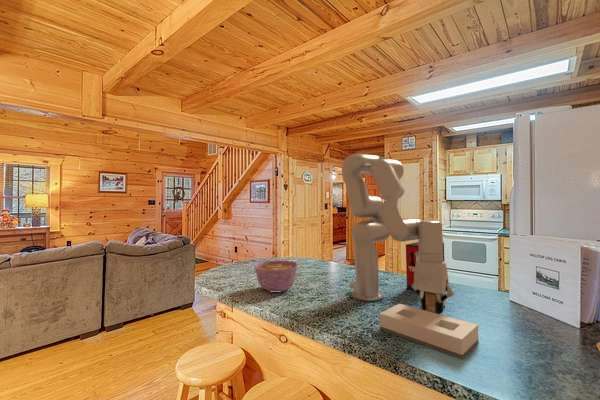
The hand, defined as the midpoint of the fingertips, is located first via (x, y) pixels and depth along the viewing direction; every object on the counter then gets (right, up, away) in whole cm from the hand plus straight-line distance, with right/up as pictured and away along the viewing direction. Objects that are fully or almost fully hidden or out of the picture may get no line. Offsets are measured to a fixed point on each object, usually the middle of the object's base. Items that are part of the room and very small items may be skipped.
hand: (432, 310), depth 99 cm
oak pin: (0, -3, 0) cm, 3 cm away
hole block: (-7, -3, -12) cm, 14 cm away
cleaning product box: (+13, -2, +34) cm, 36 cm away
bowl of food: (-55, -4, +36) cm, 66 cm away
